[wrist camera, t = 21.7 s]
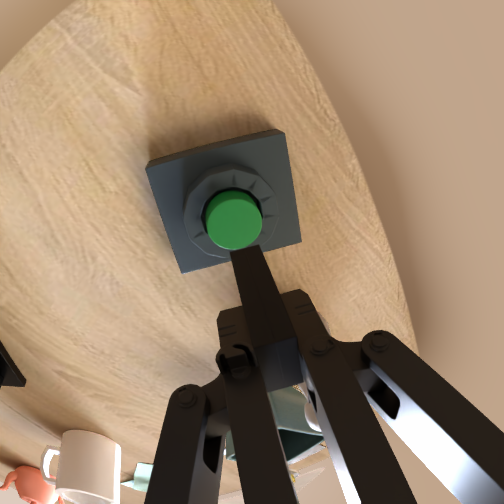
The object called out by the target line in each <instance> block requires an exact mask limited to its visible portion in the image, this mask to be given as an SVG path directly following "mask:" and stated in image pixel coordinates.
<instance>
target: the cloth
mask: <svg viewBox="0 0 504 504" xmlns="http://www.w3.org/2000/svg"><path fill="white" fill-rule="evenodd" d="M152 467H153V465H152V464H145V463H139V462H138V465H137V468H136V470H135V473H134V479H133V480H130V481H126V482H122V483H120V484H123V485H126V486H129V487H132V488H133V489H135V490H139V491H144V492H147V489H148V484H149V480H150V476H151V471H152Z"/></svg>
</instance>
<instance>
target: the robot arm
mask: <svg viewBox="0 0 504 504" xmlns="http://www.w3.org/2000/svg"><path fill="white" fill-rule="evenodd" d="M230 256H231V260H232V265H233V269H234V273H235V277H236V281H237V285H238V290H239V294H240V298H241V302H242V306H238V307H234V308H230V309H226V310H223V311H220V313H219V316H218V318H217V326H218V333H219V340H220V347H221V349H220V350H219V351H218V353H217V354H216V363H217V365H218V367H219V370H220V372H221V373H220V374H219V376H218V377H217V378H216V379H215V380H213V381H212V382H210V383H208V384H206V385H204V386H203V387H199V386H198V385H193V384H188V385H183V386H181V387H179V388H177V389H176V390H175V391H174V392H173V393H172V395H171V397H170V399H169V403H168V407H167V411H166V415H165V419H164V422H163V426H162V430H161V434H160V438H159V442H158V446H157V451H156V455H155V459H154V463H153V467H152V471H151V476H150V480H149V484H148V489H147V493H146V498H145V502H144V504H218V496H219V488H220V480H221V471H222V463H223V455H224V447H225V439H226V433H227V432H228V431H230V430H231V434H232V439H233V445H234V451H235V456H236V462H237V467H238V472H239V477H240V483H241V488H242V492H243V498H244V503H245V504H299V501H298V498H297V494H296V491H295V487H294V484H293V481H292V477H291V474H290V470H289V467H288V463H287V460H286V456H285V453H284V449H283V446H282V442H281V439H280V435H279V432H278V428H277V425H276V421H275V417H274V414H273V410H272V407H271V403H270V400H269V396H268V393H269V392H272V391H276V390H280V389H283V388H287V387H290V386H294V385H297V384H300V383H304V381H305V383H306V386H307V393H308V401H309V404H310V403H311V404H312V407H313V410H314V413H315V415H316V418H317V421H318V423H319V426H320V429H321V432H322V434H323V437H324V440H325V442H326V445H327V448H328V451H329V453H330V456H331V459H332V461H333V464H334V467H335V470H336V472H337V475H338V478H339V480H340V483H341V486H342V489H343V491H344V494H345V497H346V500H347V502H348V504H417V502H416V500H415V498H414V495H413V494H412V491H411V489H410V487H409V485H408V482H407V480H406V478H405V476H404V474H403V472H402V470H401V468H400V465H399V463H398V461H397V459H396V457H395V455H394V453H393V451H392V449H391V447H390V445H389V443H388V441H387V438H386V436H385V435H384V432H383V430H382V428H381V426H380V424H379V422H378V420H377V418H376V416H375V414H374V412H373V410H372V408H371V406H372V407H373V408H374V409H375V410H376V411H377V412H378V413H379V414H380V415H381V417H382V418H383V419H384V420H385V421H386V422H387V423H388V424H389V425H390V426H391V428H392V429H393V430H394V431H395V432H396V433H397V434H398V435H399V436H400V437H401V438H402V439H403V441H404V442H405V443H406V444H407V445H408V446H409V447H410V448H411V449H412V450H413V451H414V453H415V454H416V455H417V456H418V457H419V458H420V459H421V460H422V461H423V462H424V463H425V465H426V466H427V467H428V468H429V469H430V470H431V471H432V472H433V473H434V474H435V475H436V476H437V477H438V478H439V480H440V481H441V482H442V483H443V484H444V485H445V486H446V487H447V488H448V489H449V490H450V491H451V492H452V493H453V495H454V496H455V497H456V498H457V499H458V500H459V501H460V502H461V503H462V504H504V433H503V432H502V431H501V430H500V429H499V428H498V427H497V426H496V425H494V424H493V423H492V422H491V421H490V420H489V419H488V418H487V417H486V416H484V414H483V413H481V412H480V411H479V410H478V409H477V408H476V407H475V406H474V405H473V404H471V403H470V402H469V401H468V400H467V399H466V398H465V397H464V396H462V395H461V394H460V393H459V392H458V391H457V390H456V389H455V388H454V387H453V386H451V385H450V384H449V383H448V382H447V381H446V380H445V379H444V378H442V377H441V376H440V375H439V374H438V373H437V372H436V371H434V370H433V369H432V368H431V367H430V366H429V365H428V364H426V363H425V362H424V361H423V360H422V359H421V358H420V357H418V356H417V355H416V354H415V353H414V352H413V351H412V350H410V349H409V348H408V347H407V346H406V345H405V344H403V343H402V342H401V341H400V340H399V339H398V338H396V337H395V336H394V335H393V334H391V333H389V332H388V331H383V330H376V331H372V332H370V333H368V334H366V335H365V336H364V337H363V339H362V341H361V342H341V341H338V340H336V339H334V338H333V337H331V336H330V335H329V333H328V332H327V330H326V328H325V326H324V324H323V322H322V320H321V318H320V316H319V314H318V313H317V311H316V309H315V307H314V305H313V304H312V301H311V299H310V297H309V295H308V294H307V293H305V292H304V291H302V290H301V289H297V290H294V291H290V292H286V293H283V294H280V293H279V291H278V289H277V286H276V284H275V281H274V279H273V277H272V274H271V272H270V269H269V267H268V265H267V262H266V260H265V257H264V255H263V253H262V250H261V248H260V245H259V244H258V245H254V246H251V247H247V248H243V249H239V250H236V251H232V252H230ZM303 378H304V379H303ZM369 403H370V404H371V406H370V404H369Z"/></svg>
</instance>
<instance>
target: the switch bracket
mask: <svg viewBox="0 0 504 504" xmlns="http://www.w3.org/2000/svg"><path fill="white" fill-rule="evenodd" d="M25 384H26V379H25V378H24V376H23V375H22V373H21V372H20V371H19V369H18V368H17V366H16V365H15V363H14V362H13V360H12V359H11V357H10V356H9V354H8V352H7V351H6V349H5V348H4V346H3V344H2V343H1V341H0V388H1V386H15V387H25Z"/></svg>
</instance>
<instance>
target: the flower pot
mask: <svg viewBox="0 0 504 504" xmlns="http://www.w3.org/2000/svg"><path fill="white" fill-rule="evenodd" d="M268 396H269V400H270V403H271V407H272V410H273V414H274V417H275V421H276V425H277V428H278V432H279V435H280V439H281V442H282V446H283V449H284V453H285V456H286V460H287V463H288V462H290V461H291V460H293V459H295V458H296V457H298V456H300V455H302V454H303V453H305V452H307V451H308V450H310V449H312V448H313V447H315V446H317V445H318V444H320V443H321V442H323V441H324V437H323V434H322V432H321V431H317V430H314V429H313V428H311V427H310V426H309V424H308V422H307V420H306V417H305V410H304V408H305V404H306V403H307V402H308V400H307V398H306V397H305V396H304V395H303V394H302V393H300V392H299V391H298V390H296V389H295V388H293V387H292V386H290V387H287V388H283V389H280V390H276V391H272V392H269V393H268ZM226 459H228V460H233V461H236V456H235V451H234V445H233V439H232V434H231V430H230V431H228V432H227V433H226Z"/></svg>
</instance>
